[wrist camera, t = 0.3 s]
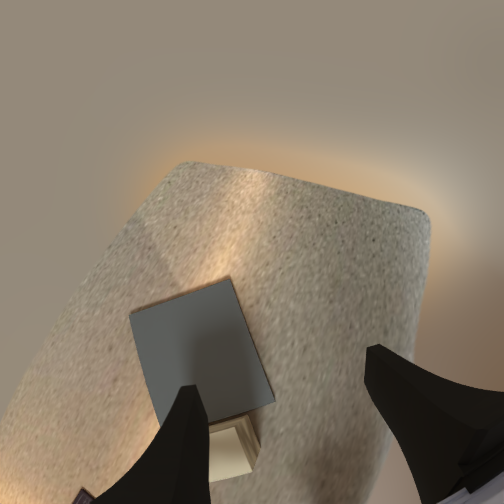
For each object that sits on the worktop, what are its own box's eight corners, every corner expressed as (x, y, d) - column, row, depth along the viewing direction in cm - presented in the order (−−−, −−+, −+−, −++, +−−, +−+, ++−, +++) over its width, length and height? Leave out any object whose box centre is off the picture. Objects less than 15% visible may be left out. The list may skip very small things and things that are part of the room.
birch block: (260, 447, 35) (252, 471, 24) (204, 462, 35) (176, 488, 24) (247, 414, 37) (234, 426, 26) (191, 430, 37) (159, 445, 26)
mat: (275, 401, 38) (275, 401, 37) (164, 433, 37) (162, 434, 36) (230, 280, 45) (229, 278, 44) (130, 316, 44) (128, 315, 43)
